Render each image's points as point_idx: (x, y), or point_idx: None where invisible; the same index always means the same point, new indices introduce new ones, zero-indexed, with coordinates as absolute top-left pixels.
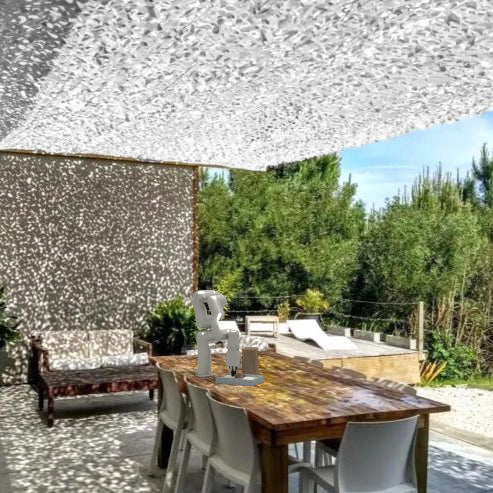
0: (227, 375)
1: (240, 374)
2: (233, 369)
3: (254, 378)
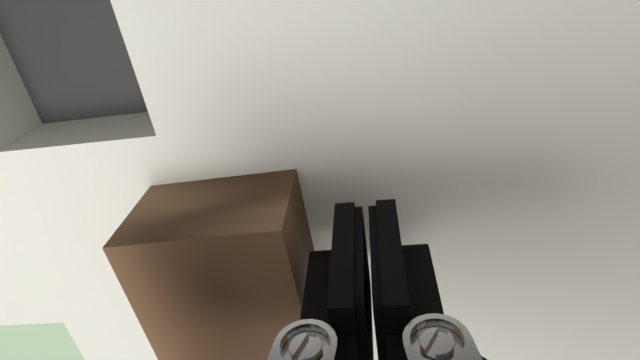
0: (615, 355)
1: (127, 260)
2: (336, 352)
3: (30, 338)
